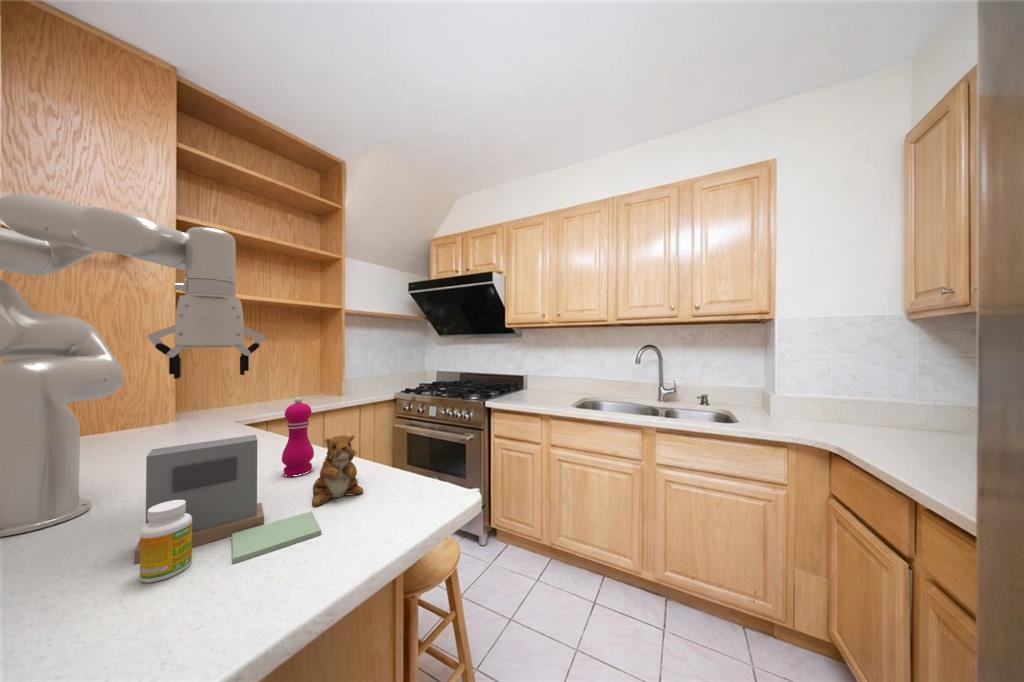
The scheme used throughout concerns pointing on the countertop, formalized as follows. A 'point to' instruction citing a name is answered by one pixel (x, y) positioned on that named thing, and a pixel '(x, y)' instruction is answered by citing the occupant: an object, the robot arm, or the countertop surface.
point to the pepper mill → (297, 440)
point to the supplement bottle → (165, 541)
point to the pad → (273, 536)
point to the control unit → (207, 486)
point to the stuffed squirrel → (336, 471)
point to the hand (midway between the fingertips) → (211, 376)
